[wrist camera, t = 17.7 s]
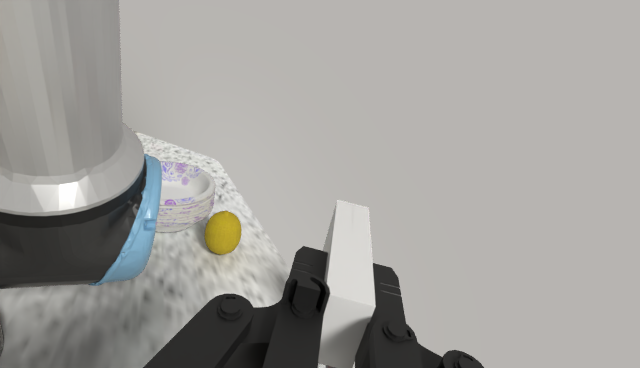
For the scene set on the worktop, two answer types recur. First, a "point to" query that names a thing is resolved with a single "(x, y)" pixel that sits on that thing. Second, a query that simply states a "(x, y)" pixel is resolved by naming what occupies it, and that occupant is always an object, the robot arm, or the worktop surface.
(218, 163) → the worktop surface
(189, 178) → the paper bowls
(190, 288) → the worktop surface
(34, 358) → the worktop surface
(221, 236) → the lemon
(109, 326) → the worktop surface
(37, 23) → the robot arm
